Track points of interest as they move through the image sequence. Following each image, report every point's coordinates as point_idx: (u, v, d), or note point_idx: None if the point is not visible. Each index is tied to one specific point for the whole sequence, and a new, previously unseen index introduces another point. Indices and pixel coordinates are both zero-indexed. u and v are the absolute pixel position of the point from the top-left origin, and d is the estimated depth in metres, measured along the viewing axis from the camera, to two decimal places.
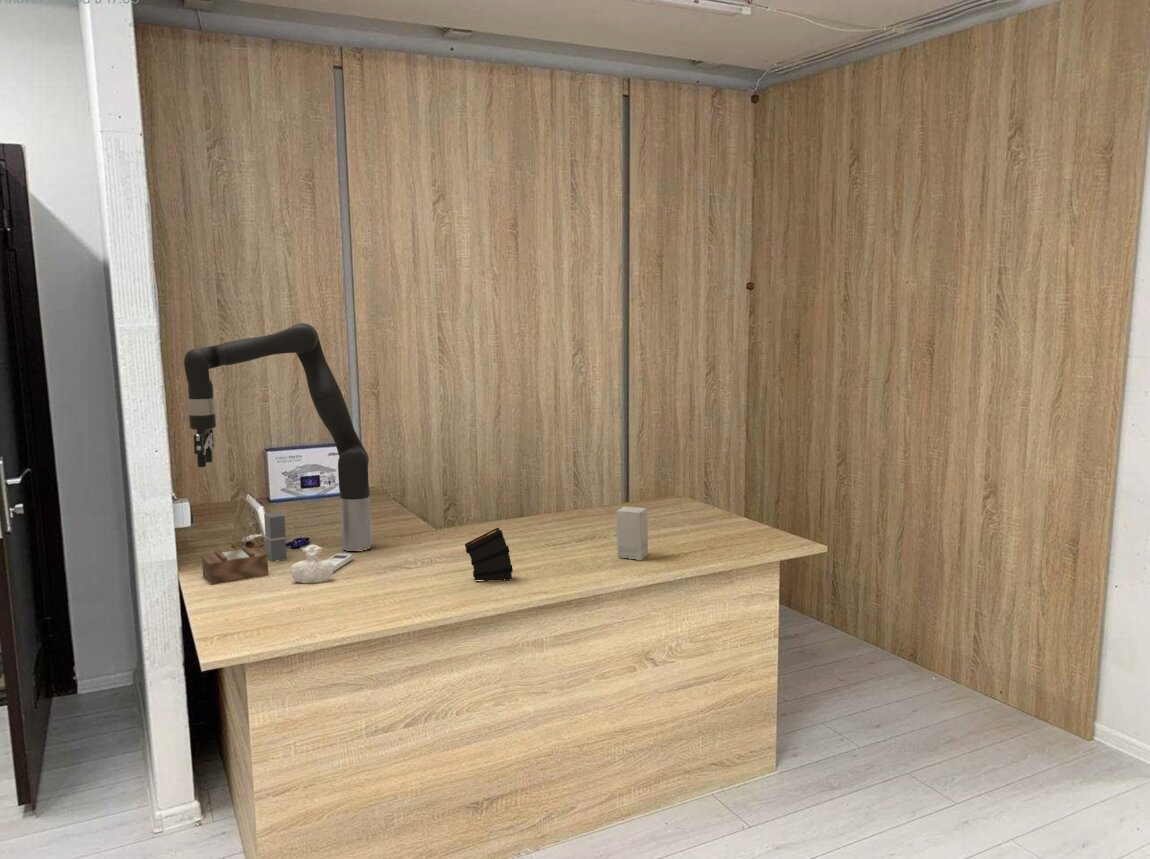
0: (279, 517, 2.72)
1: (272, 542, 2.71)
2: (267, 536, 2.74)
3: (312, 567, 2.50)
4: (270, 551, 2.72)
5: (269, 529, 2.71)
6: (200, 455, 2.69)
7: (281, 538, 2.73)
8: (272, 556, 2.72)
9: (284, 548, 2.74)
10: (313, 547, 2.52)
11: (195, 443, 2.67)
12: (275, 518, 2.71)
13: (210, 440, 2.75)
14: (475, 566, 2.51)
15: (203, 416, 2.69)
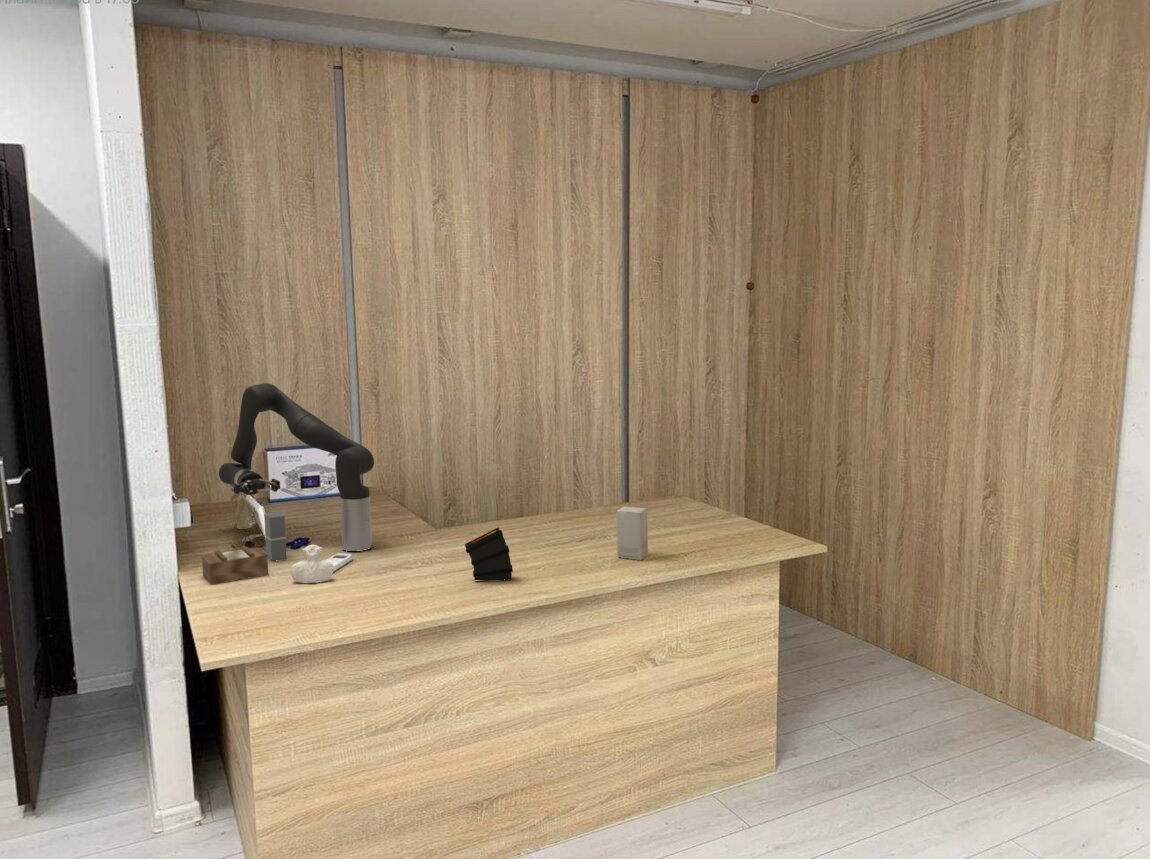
0: (279, 517, 2.72)
1: (272, 542, 2.71)
2: (267, 536, 2.74)
3: (312, 567, 2.50)
4: (270, 551, 2.72)
5: (269, 529, 2.71)
6: (241, 489, 2.81)
7: (281, 538, 2.73)
8: (272, 556, 2.72)
9: (284, 548, 2.74)
10: (313, 547, 2.52)
11: (233, 490, 2.83)
12: (275, 518, 2.71)
13: (261, 480, 2.87)
14: (475, 566, 2.51)
15: (237, 479, 2.91)
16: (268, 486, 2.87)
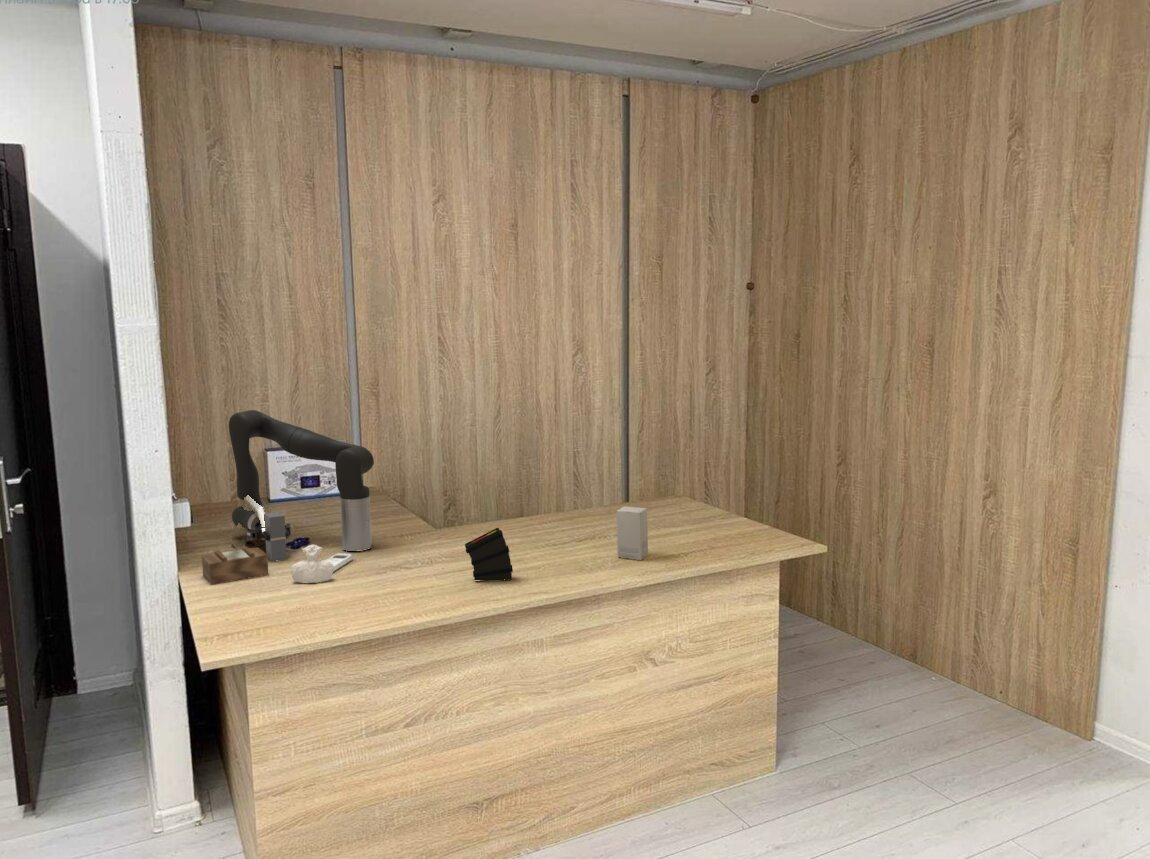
0: (279, 517, 2.71)
1: (272, 542, 2.71)
2: None
3: (312, 567, 2.50)
4: (270, 551, 2.72)
5: (269, 529, 2.71)
6: (261, 535, 2.73)
7: (281, 538, 2.73)
8: (272, 556, 2.72)
9: (284, 548, 2.74)
10: (313, 547, 2.52)
11: (251, 537, 2.75)
12: (275, 518, 2.71)
13: None
14: (475, 566, 2.51)
15: (251, 524, 2.83)
16: None
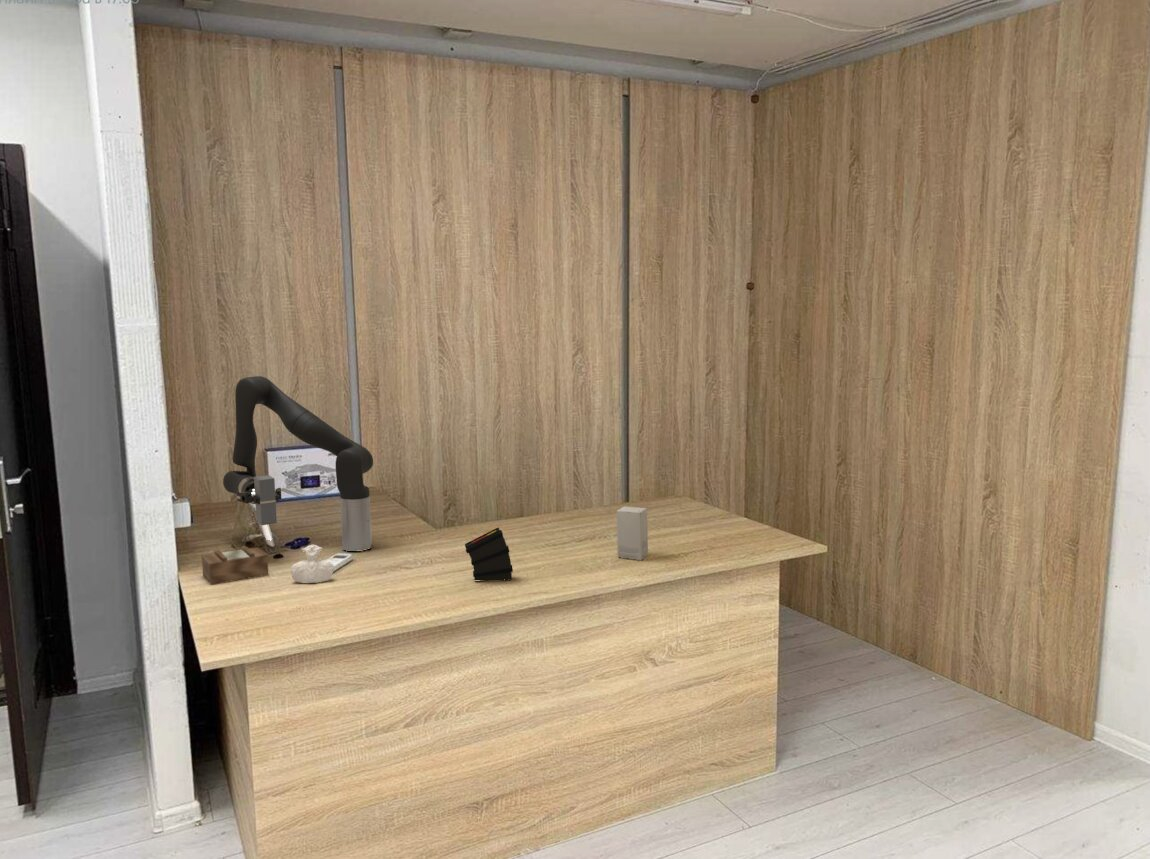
0: (269, 480, 2.67)
1: (262, 505, 2.66)
2: None
3: (312, 567, 2.50)
4: (260, 514, 2.67)
5: (259, 492, 2.66)
6: (251, 499, 2.68)
7: (271, 501, 2.68)
8: (262, 519, 2.67)
9: (274, 511, 2.69)
10: (313, 547, 2.52)
11: (240, 500, 2.70)
12: (265, 481, 2.66)
13: None
14: (475, 566, 2.51)
15: (241, 488, 2.79)
16: None
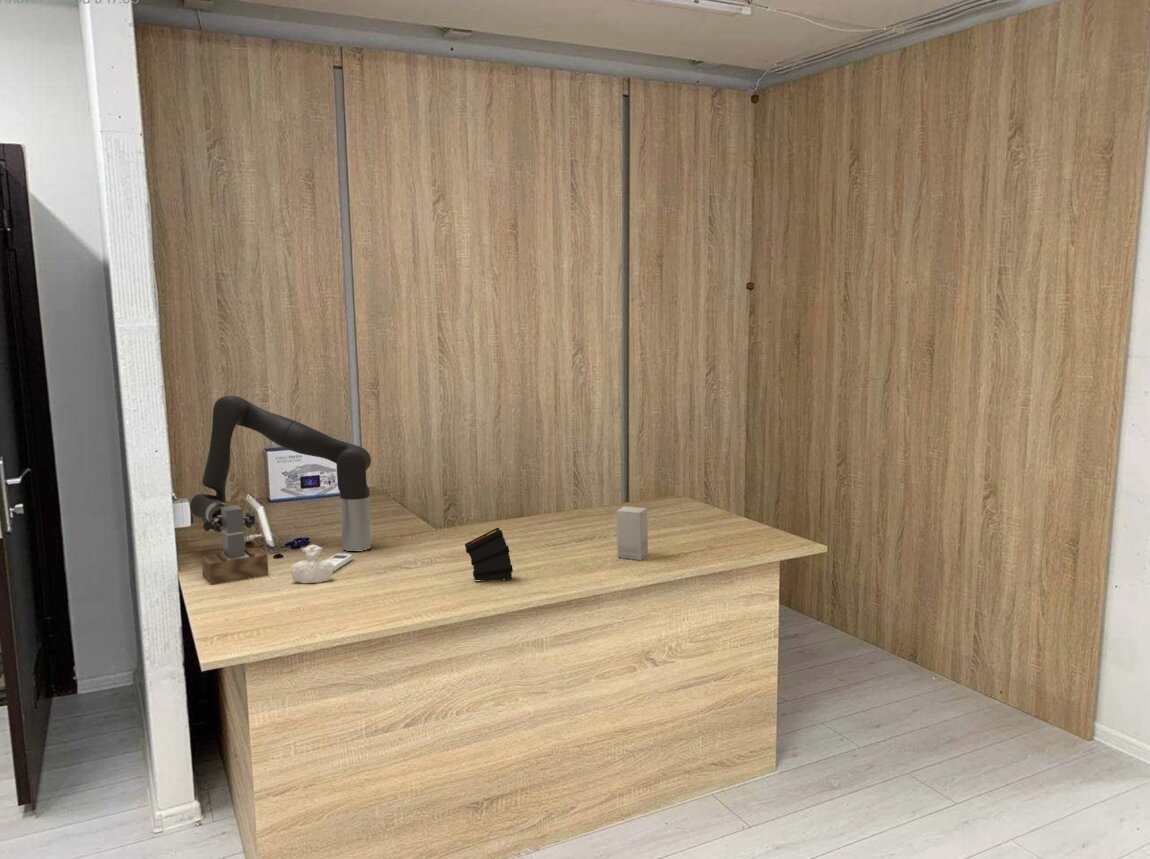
0: (237, 510, 2.54)
1: (229, 537, 2.53)
2: (224, 531, 2.56)
3: (312, 567, 2.50)
4: (227, 547, 2.54)
5: (226, 523, 2.53)
6: (211, 526, 2.55)
7: (239, 533, 2.55)
8: (229, 552, 2.54)
9: (242, 543, 2.56)
10: (313, 547, 2.52)
11: (203, 527, 2.57)
12: (232, 511, 2.53)
13: None
14: (475, 566, 2.51)
15: (208, 514, 2.65)
16: None
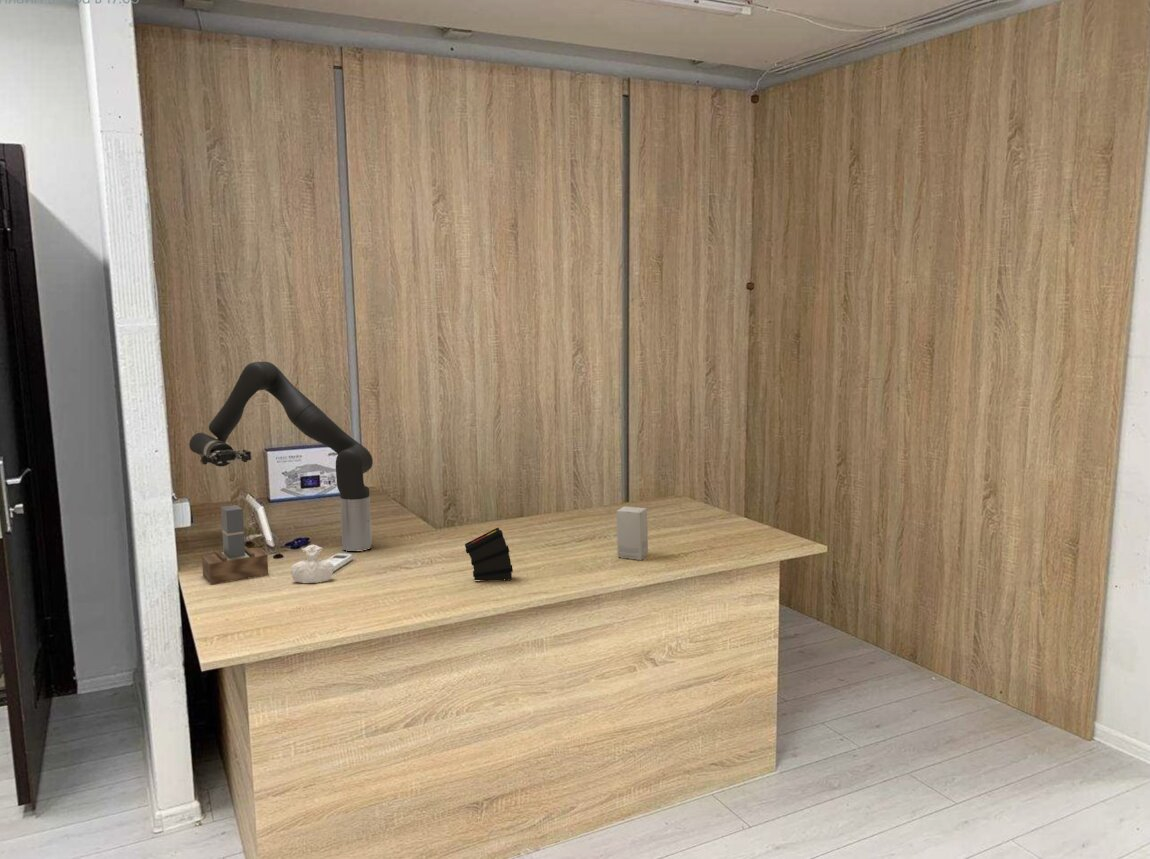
0: (237, 510, 2.54)
1: (229, 537, 2.53)
2: (224, 531, 2.56)
3: (312, 567, 2.50)
4: (227, 547, 2.54)
5: (226, 523, 2.53)
6: (209, 460, 2.66)
7: (239, 533, 2.55)
8: (229, 552, 2.54)
9: (242, 543, 2.56)
10: (313, 547, 2.52)
11: (201, 461, 2.69)
12: (232, 511, 2.53)
13: (231, 451, 2.73)
14: (475, 566, 2.51)
15: (206, 450, 2.77)
16: (238, 457, 2.73)
